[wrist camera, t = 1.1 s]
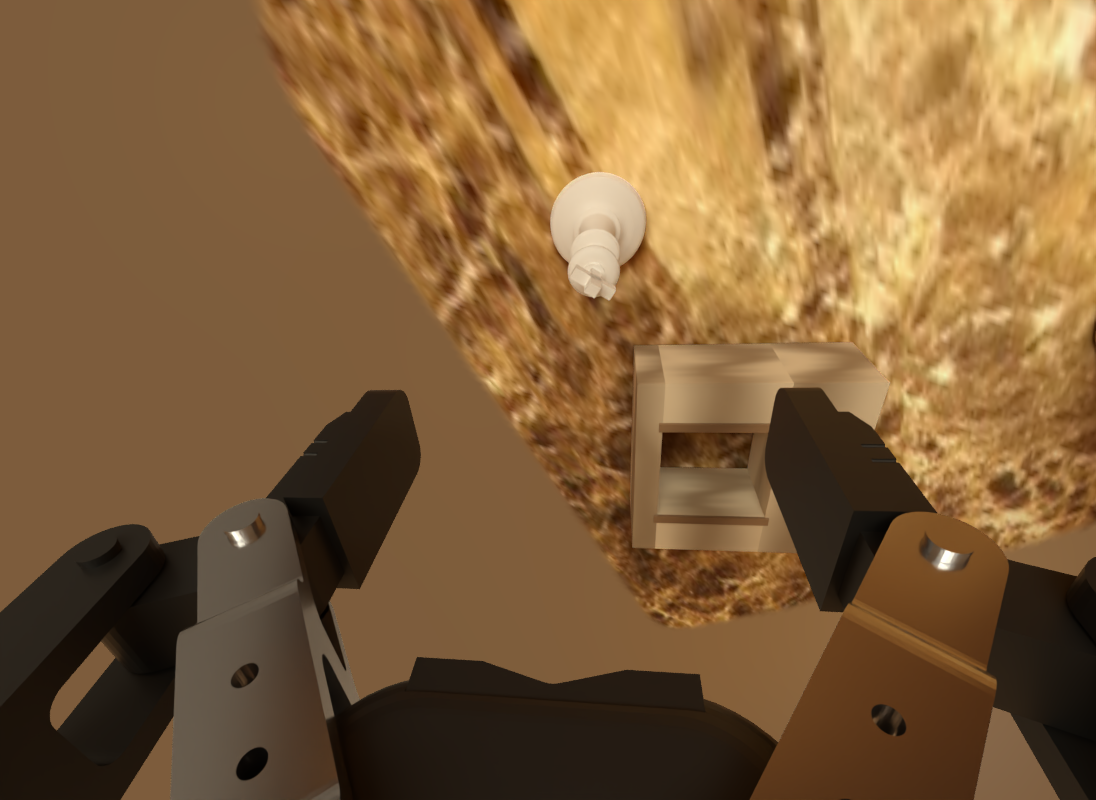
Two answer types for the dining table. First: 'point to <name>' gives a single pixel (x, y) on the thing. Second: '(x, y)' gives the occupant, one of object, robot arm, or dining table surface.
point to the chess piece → (597, 230)
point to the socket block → (728, 407)
